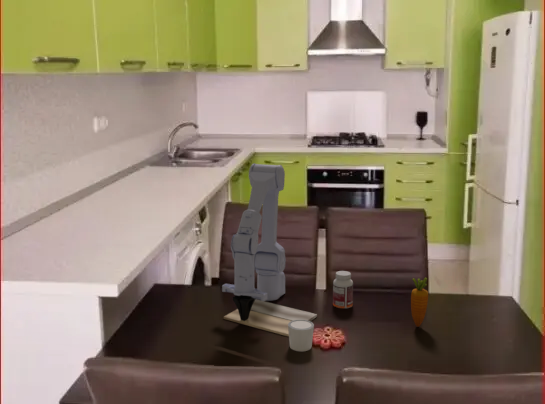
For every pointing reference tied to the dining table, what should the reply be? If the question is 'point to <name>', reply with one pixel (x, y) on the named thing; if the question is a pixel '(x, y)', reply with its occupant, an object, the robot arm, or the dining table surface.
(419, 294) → the carrot
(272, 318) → the oak plank
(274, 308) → the laid plank
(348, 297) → the pill bottle
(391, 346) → the dining table surface
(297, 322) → the white cup
